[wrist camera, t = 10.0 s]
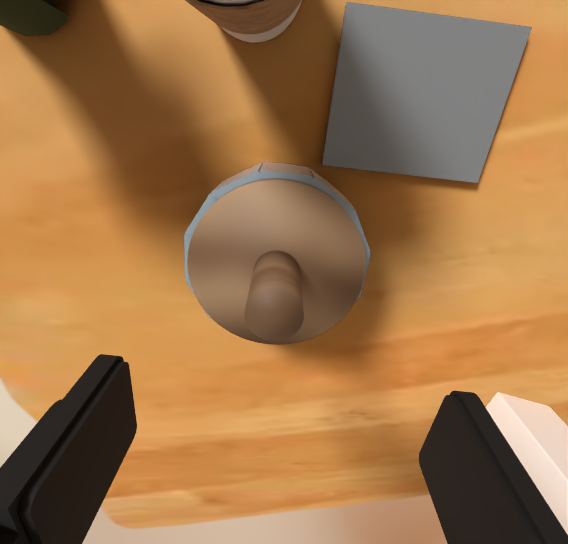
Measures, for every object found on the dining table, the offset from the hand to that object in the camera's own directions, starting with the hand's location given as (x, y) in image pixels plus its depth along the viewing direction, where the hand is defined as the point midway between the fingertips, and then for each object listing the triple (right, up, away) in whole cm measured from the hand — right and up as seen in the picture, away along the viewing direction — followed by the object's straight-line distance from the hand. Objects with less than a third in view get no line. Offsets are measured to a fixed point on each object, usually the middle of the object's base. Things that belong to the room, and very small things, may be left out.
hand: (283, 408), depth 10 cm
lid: (0, +4, +11) cm, 12 cm away
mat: (+9, +15, +12) cm, 21 cm away
